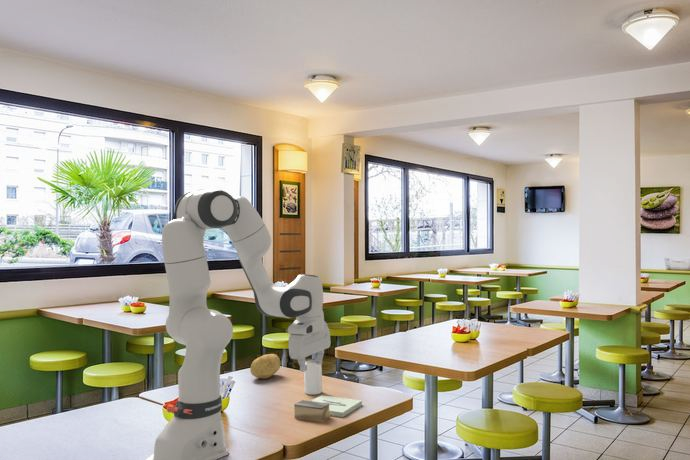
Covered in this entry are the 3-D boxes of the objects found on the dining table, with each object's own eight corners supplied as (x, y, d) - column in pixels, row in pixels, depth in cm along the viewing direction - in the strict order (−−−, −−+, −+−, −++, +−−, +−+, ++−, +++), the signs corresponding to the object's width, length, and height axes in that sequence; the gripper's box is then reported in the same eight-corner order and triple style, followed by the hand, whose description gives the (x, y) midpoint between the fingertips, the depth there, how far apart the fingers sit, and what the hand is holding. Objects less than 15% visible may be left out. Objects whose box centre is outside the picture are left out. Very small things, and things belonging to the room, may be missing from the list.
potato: (286, 377, 229) (285, 354, 230) (254, 383, 221) (254, 359, 221) (274, 372, 238) (274, 350, 238) (243, 378, 229) (243, 355, 229)
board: (342, 417, 177) (342, 412, 177) (300, 410, 185) (300, 406, 185) (362, 405, 190) (361, 400, 190) (321, 399, 197) (321, 394, 197)
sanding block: (321, 422, 173) (321, 408, 173) (294, 418, 178) (294, 404, 178) (329, 417, 178) (329, 403, 178) (302, 413, 182) (302, 400, 182)
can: (302, 391, 207) (301, 359, 207) (318, 389, 210) (317, 357, 210) (308, 396, 201) (307, 363, 201) (324, 393, 204) (324, 361, 204)
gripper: (318, 318, 189) (319, 359, 189) (284, 329, 171) (285, 374, 171) (334, 319, 186) (335, 361, 186) (301, 330, 168) (303, 376, 168)
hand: (311, 367), depth 178 cm, fingers open, 8 cm apart
